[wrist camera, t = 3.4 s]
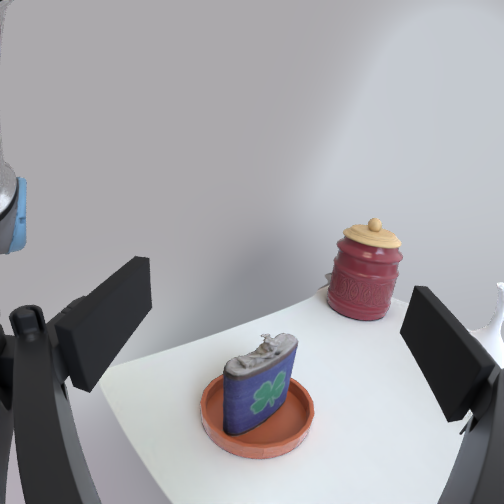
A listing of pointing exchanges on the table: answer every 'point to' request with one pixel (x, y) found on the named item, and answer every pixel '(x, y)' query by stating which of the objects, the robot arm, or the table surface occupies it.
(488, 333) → the flower in vase
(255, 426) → the flask
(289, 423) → the terracotta plant saucer
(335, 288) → the kitchen canister
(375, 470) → the table surface
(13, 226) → the robot arm
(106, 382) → the table surface
